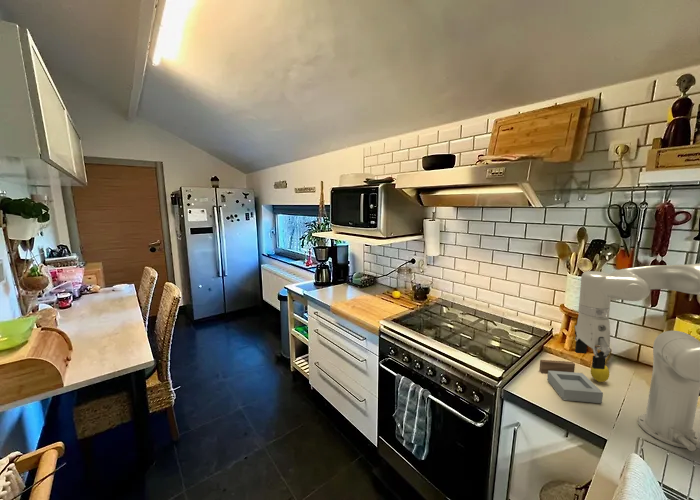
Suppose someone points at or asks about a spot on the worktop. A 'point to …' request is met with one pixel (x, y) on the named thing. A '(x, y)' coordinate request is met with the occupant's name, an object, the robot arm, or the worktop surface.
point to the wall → (556, 366)
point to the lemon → (600, 374)
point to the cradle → (574, 387)
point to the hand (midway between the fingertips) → (588, 360)
